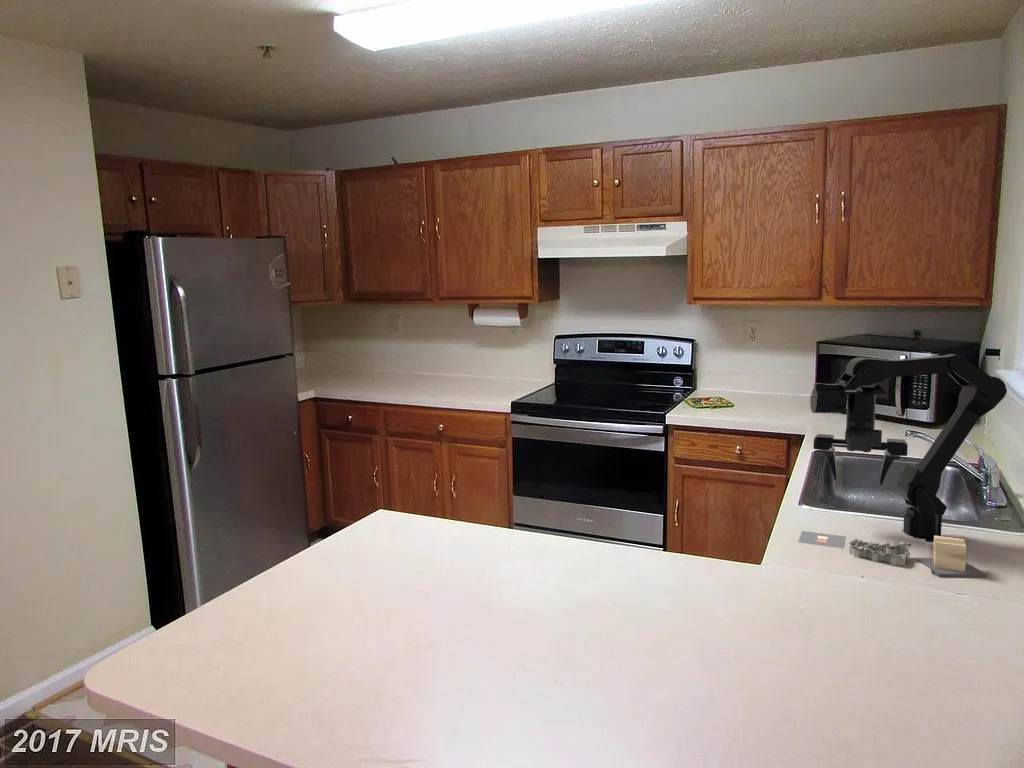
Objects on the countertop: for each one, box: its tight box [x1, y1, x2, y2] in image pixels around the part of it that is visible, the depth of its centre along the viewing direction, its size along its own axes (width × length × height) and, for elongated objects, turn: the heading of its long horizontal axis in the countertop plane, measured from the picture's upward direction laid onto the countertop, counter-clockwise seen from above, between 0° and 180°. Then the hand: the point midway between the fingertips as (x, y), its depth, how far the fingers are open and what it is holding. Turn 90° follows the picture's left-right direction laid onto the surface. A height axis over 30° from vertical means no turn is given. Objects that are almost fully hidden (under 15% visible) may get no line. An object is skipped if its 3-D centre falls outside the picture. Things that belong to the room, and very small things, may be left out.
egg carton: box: [848, 538, 912, 566], centre depth 142 cm, size 11×8×4 cm
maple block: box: [932, 535, 967, 572], centre depth 137 cm, size 5×5×5 cm
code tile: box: [797, 530, 847, 549], centre depth 153 cm, size 9×9×1 cm
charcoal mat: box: [913, 557, 988, 578], centre depth 137 cm, size 9×9×1 cm
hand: (857, 482), depth 158 cm, fingers open, 9 cm apart
